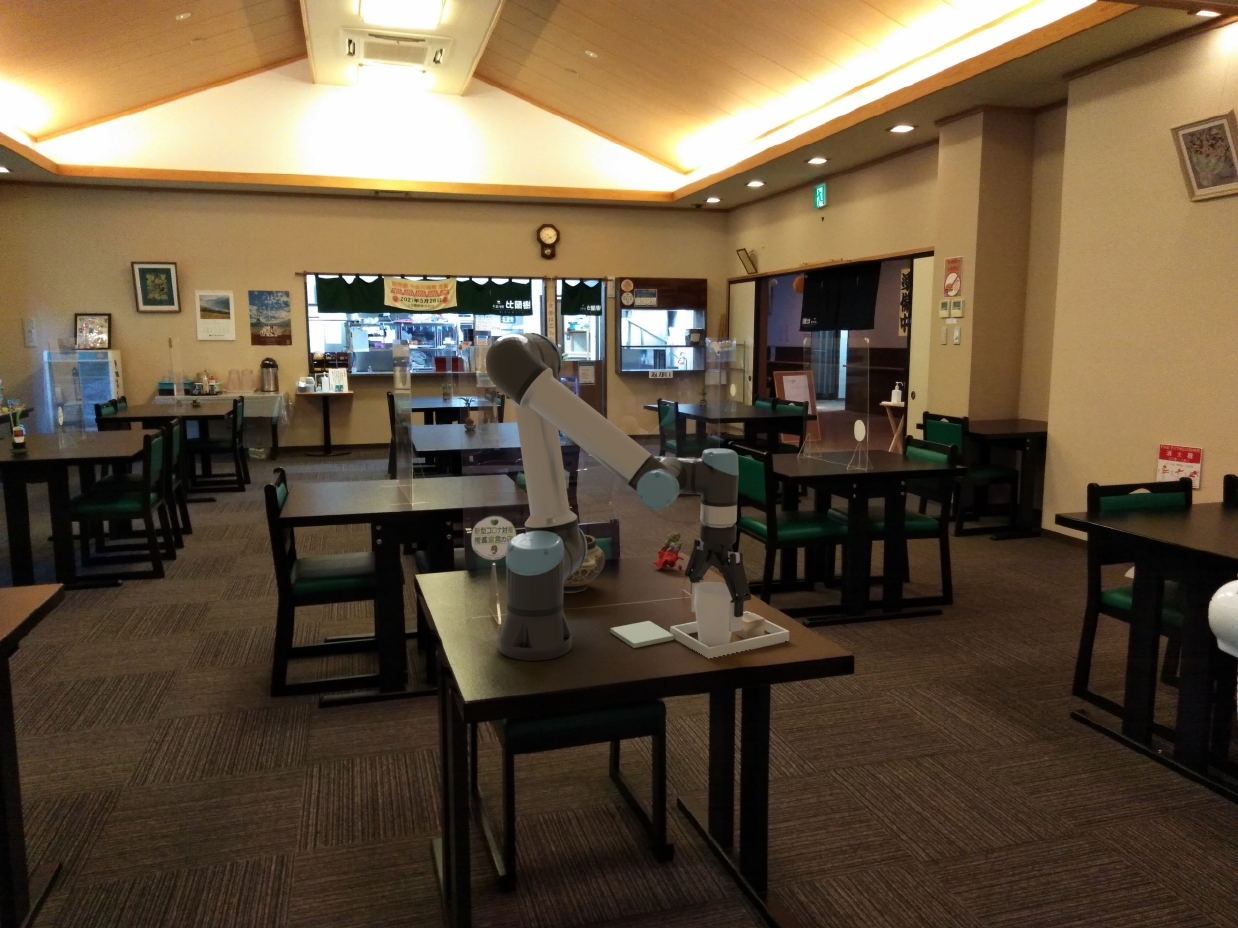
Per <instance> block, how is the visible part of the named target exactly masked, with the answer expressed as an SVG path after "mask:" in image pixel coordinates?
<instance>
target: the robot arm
mask: <svg viewBox="0 0 1238 928" xmlns="http://www.w3.org/2000/svg"><path fill="white" fill-rule="evenodd" d="M484 362H485V370H486V374H487V376H488V378H489V379H490V381H491V383H493V385H494V386H495V387H496V388H497V389H499V390H500V391H501V392H502V393H503V394H504V395H505V398H506V401H507V402H509V404H511V405H512V406H513V407H514V410H515V417H516V425H517V431H518V438H519V446H520V451H521V452H520V453H521V459H522V465H523V472H524V473H523V474H524V477H525V478H524V479H525V487H526V492H527V493H526V494H527V501H528V508H529V513H530V515H529V517H528V518H527V520H526V521H525V522H524V528H525V533H519V534H516V535H514V537H512V538H510V540H509V541H508V543H507V546H506V553H505V564H506V565H505V570H506V571H505V572H506V577H505V578H506V582H505V583H506V585H505V586H506V613H505V617H504V619H503V623H502V625H501V627H500V629H501V630H500V632H499V634H498V645H497V646H498V651H499V652H500V653H501V654H502V655H503V656H506V657H508V658H510V659H515V660H519V661H528V662H530V661H531V662H533V661H535V662H536V661H546V660H547V661H548V660H552V659H556V658H560V657H562V656H564V655H566V654H567V653H569V652H570V650H571V649H572V634H571V630H570V628H569V625H568V622H567V618H566V615H565V612H564V593H563V583H564V582H565V581H566V580H567V579H568V578H569V577H570V576H571V575H573V574H574V573H575V572H576V571H577V570H578V569H579V568H580V567H581V565H582V564H583V561H584V559H585V557H586V554H587V541H586V537H585V535H586V534H585V533H584V532H583V530H582V529H581V528H580V527H579V526H580V525H579V521H578V520H579V519H578V515H577V514H576V513H574V512H573V511H572V510H571V509H570V506H569V498H568V497H569V496H568V490H567V484H566V477H565V475H566V474H565V469H564V461H563V455H562V447H561V440H560V434H559V432H561V433H562V434H563V435H565V437H567V438H569V439H570V440H571V441H572V442H573V443H574V444H576V445H577V446H578V447H580V448H581V449H582V450H583V451H585V452H586V453H587V454H589V455H590V456H591V457H592V458H594V459H595V460H596V461H597V462H599V463H600V464H602V465H603V466H604V467H605V468H606V469H607V470H609V471H610V472H612V474H614V475H615V476H616V477H618V478H619V479H620V480H621V481H623V483H626V484H627V486H629V487H631V488H632V489H633V490H634V491H635V492H636V494H637V498H638V500H639V501H640V503H641V504H642V505H643V506H645V507H646V508H648V509H651V510H662V509H664V508H666V507H668V506H670V505H671V504H673V503H674V502H676V501H677V498H678V496H679V495H681V494H682V495H683V494H685V495H688V494H690V495H700V498H701V499H700V516H699V517H700V519H699V520H700V522H701V524H700V525H699V526H700V527H699V529H700V530H699V531H700V532H699V538H696V539H694V542H693V549H692V551H691V555H690V558H689V560H688V563H687V565H686V567H685V568H686V569H685V571H684V575H685V577H686V578H687V577H688V578H689V581H690V595H691V597H690V598H691V599H690V612H692V613H696V612H695V603H694V598H695V589H696V585H698V584H700V583H704V582H705V581H704V580H705V579H704V577H705V575H706V574H707V572H708V571H709V569H710V568H711V567H714V568H715V569H718V572H719V573H721V575H722V577H723V580H724V583H726V585H727V587H728V590H729V592H730V595H731V597H732V600H731V601H730V608H729V632H732V633H735V631H740V630H741V628H742V616H743V612H744V603H745V602H747V601H751V600H752V594H751V590H750V587H749V583H748V579H747V575H746V571H745V566H744V560H743V559H744V557H743V555H744V554H743V552H742V551H737V552H734V551H733V545H734V544H735V543H736V542H737V529H738V528H737V525H736V524H737V523H736V522H737V518H738V514H737V513H738V494H739V493H738V492H739V475H740V471H739V455H738V453H737V452H736V451H735V450H733V449H729V448H718V447H717V448H706V449H704V450H702V453H701V454H702V455H701V457H698V458H697V457H696V458H693V457H692V458H691V457H677V456H676V457H675V456H666V455H661V456H654V455H652V453H651V452H649V451H648V450H646V449H645V448H644V447H643V446H641V445H640V444H639V443H638V442H637V441H635V439H633V438H632V437H630V436H629V435H627V434H626V433H625V432H624V431H622V430H621V429H620V428H618V427H617V425H615V424H613V423H612V422H611V421H610V420H608V419H607V418H606V417H605V416H604V415H602V414H601V413H600V412H598V411H597V410H596V409H595V408H593V407H592V406H591V405H590V404H588V403H587V402H586V401H585V400H583V399H582V398H580V397H579V396H578V395H577V394H576V393H575V392H574V391H572V390H571V389H569V388H568V387H567V386H566V385H564V384H563V383H561V382H560V381H559V376H560V374H561V371H562V368H563V358H562V354H561V351H560V349H559V347H558V345H557V344H556V343H555V342H554V341H553V340H552V339H551V338H549V337H547V336H546V335H544V334H540V333H536V332H524V333H510V334H504V335H502V336H500V337H499V338H497V339H495V340H494V341H493V342H492V343H491V345H489V348H488V350H487V352H486V356H485V361H484ZM584 534H585V535H584ZM736 594H737V595H736Z"/></svg>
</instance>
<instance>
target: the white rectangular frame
mask: <svg viewBox="0 0 1238 928" xmlns="http://www.w3.org/2000/svg"><path fill="white" fill-rule="evenodd" d="M750 613H752V612H750V611H749V610H748V611H743V615H745V614H750ZM669 629H670V630H669V633H671V634H673V635H674V640H676V641H678V642H679V643H681V644H683V645H684V646H686V647H687V648H689V649H691V650H692V649H693V650H692V651H694V650H695V651H694V652H696V651H697V652H698V654H699V653H700V655H701V654H702V655H703V656H702V655H701V656H702V657H704V656H705V657H704V658H706V657H707V658H708V659H707V658H706V659H707V660H710V659H709V658H712V659H714V658H713V657H716V658H719V657H718V656H721V657H724V656H723V655H725V656H728V655H727V654H729V655H732V653H734V654H737V653H736V652H738V653H742V652H741V651H743V652H746V651H745V650H747V651H750V650H749V649H751V650H755V649H759V648H763V647H768V646H773V645H778V644H781V643H786V642H785V641H787V642H789V641H790V630H787V629H786V628H784V627H782V626H779V625H778V624H776V623H773V622H771V621H769V620H767V619H765V628H764V632H767V633H769V634H764V636H759V637H755V638H750V639H741V640H738V641H733V642H730V643H727V644H723V645H718V646H714V647H708V646H706V645H705V644H703V643H701V642H699V639H695V638H694V637H692V636H690V635H689V634H693V633H698V630H697V621H696V620H695V621H692V622H686V623H682V624H677V625H671V626H670V627H669ZM697 652H696V653H697Z"/></svg>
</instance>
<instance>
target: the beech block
mask: <svg viewBox="0 0 1238 928" xmlns="http://www.w3.org/2000/svg"><path fill="white" fill-rule="evenodd" d="M765 620H766V619H765V617H763V616H761V615H758V614H756V613H755V612H751V613H750V614H745V615H743V616H742V628H741V630H740V631H735V632H734V634H735V635H737V636H738V637H740V638H743V640H746V639H750V638H755V637H759V636H764V635H765V630H764V628H765Z"/></svg>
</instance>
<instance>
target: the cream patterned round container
mask: <svg viewBox="0 0 1238 928" xmlns="http://www.w3.org/2000/svg"><path fill="white" fill-rule="evenodd" d="M584 535H585V537H586V541H587V554H586V557H585V559H584V561H583V564H582V565H581V567H580V568H579V569H578V570H577V571H576V572H575V573H574V574H573V575H571V576H570V577H569V578H568V579H567V580H566V581H565V582H564V583H563V594H565V593H566V594H575V593H578V592H583V591H585V590H587V589H588V583H590V582H592V581H593V580H595V579H596V578H597V577H598V576H599V575H600V574H601V572H602V570H603V569H604V566H605V564H606V557H605V553H604V551H603V550H602V548H600V547H599V546H598V545H596V543H597V539H596V537H595V536H593V535H588V534H585V533H584Z"/></svg>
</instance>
